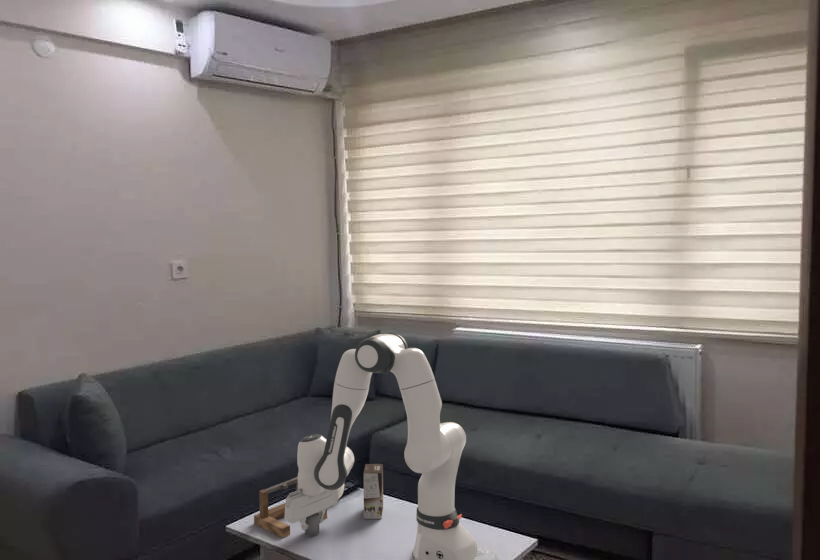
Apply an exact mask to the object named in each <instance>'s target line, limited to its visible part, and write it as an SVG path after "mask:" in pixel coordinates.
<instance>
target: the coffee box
mask: <svg viewBox="0 0 820 560" xmlns="http://www.w3.org/2000/svg"><path fill="white" fill-rule="evenodd" d="M383 510H384V464H383V463H370V464H369V463H365V464H364V469H363V519H364V520H365V519H368V520H370V519H373V520H374V519H375V520H381V519H382V517H383Z"/></svg>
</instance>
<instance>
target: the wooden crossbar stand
mask: <svg viewBox="0 0 820 560" xmlns="http://www.w3.org/2000/svg"><path fill="white" fill-rule="evenodd" d="M294 484H295V491H297V490H298V476H295V477H294V478H291V479H289V480H285V481H284V482H280V483H278V484H275V485H271V486H270V487H268V488H263V489H261V490H258V493H259V494H258V496H259V497H258V498H259V499H258V500H259V502H258V503H259V513H257V514H254V515H253V525H256V526H257V527H259V528H262V529H264V530H266V531H267V532H270V533H272V534H274V535H275V536H278V537H280V538H282V539H283V537H284V538H286V537H288V536H290V535H291V525H289V524H287V523H285V522H283V521H281V520H279V519H282V518H283V517H284V518H285V504H286V502H283V503H281V504H279V505H277V506H274V507H271V508H269V494H270V493H274V492H276V491H279V490H281V489H283V490H287V489H289V486H292V485H294ZM317 513H319V512H317ZM326 519H328V508H326V509H325V514H324V516H323V521H324V520H326Z"/></svg>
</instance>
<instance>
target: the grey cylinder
mask: <svg viewBox="0 0 820 560" xmlns="http://www.w3.org/2000/svg"><path fill="white" fill-rule="evenodd" d="M305 522H306V523H308V524H309V526H308V527H309V529H307V530H304V534H305V536H307V535H308V537H315V536H318V535H319V534H320V524H319V513H315V514H313V515H310V516H308V517H306V520H305Z"/></svg>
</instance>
